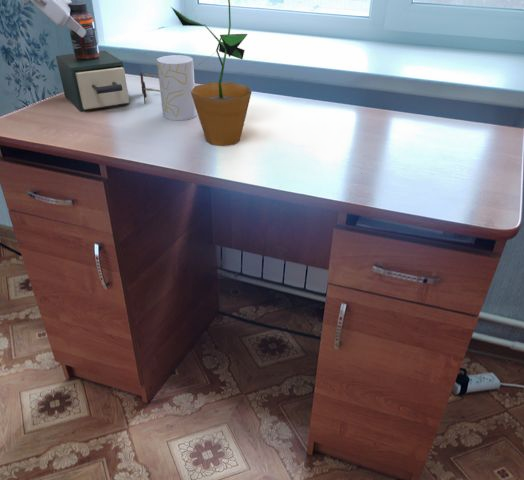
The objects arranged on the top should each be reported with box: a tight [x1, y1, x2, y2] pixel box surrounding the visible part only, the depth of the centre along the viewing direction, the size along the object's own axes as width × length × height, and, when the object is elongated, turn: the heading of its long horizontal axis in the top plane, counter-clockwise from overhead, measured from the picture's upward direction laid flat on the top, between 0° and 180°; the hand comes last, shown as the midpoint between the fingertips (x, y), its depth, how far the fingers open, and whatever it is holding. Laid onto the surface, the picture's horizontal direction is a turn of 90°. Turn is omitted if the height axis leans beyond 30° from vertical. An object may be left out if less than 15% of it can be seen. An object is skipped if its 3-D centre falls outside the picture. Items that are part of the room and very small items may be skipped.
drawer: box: [75, 66, 130, 109], centre depth 124 cm, size 17×11×8 cm, turn 31°
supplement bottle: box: [68, 1, 100, 60], centre depth 121 cm, size 6×6×11 cm
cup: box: [156, 54, 198, 121], centre depth 119 cm, size 8×8×12 cm
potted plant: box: [170, 0, 253, 147], centre depth 101 cm, size 18×19×30 cm
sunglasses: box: [139, 72, 161, 104], centre depth 132 cm, size 14×15×5 cm
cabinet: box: [55, 50, 130, 112], centre depth 127 cm, size 14×13×10 cm
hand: (84, 30), depth 121 cm, fingers open, 8 cm apart
